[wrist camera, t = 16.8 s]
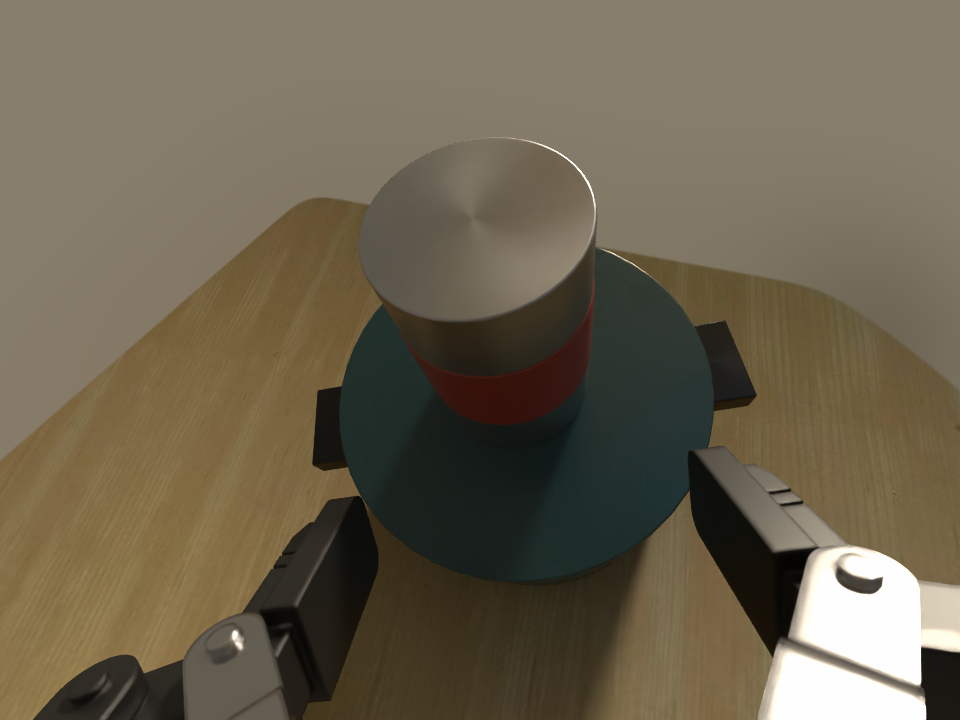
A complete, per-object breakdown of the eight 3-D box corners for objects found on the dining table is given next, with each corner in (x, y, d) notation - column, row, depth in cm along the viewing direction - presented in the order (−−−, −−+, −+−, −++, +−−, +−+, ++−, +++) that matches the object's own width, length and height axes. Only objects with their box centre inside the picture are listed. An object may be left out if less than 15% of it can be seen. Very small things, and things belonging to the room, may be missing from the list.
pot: (660, 308, 33) (691, 200, 24) (749, 567, 25) (843, 544, 16) (376, 359, 35) (311, 276, 26) (374, 611, 27) (280, 612, 18)
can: (572, 307, 22) (572, 114, 14) (603, 437, 19) (627, 295, 11) (439, 330, 23) (358, 162, 14) (448, 460, 20) (351, 344, 11)
